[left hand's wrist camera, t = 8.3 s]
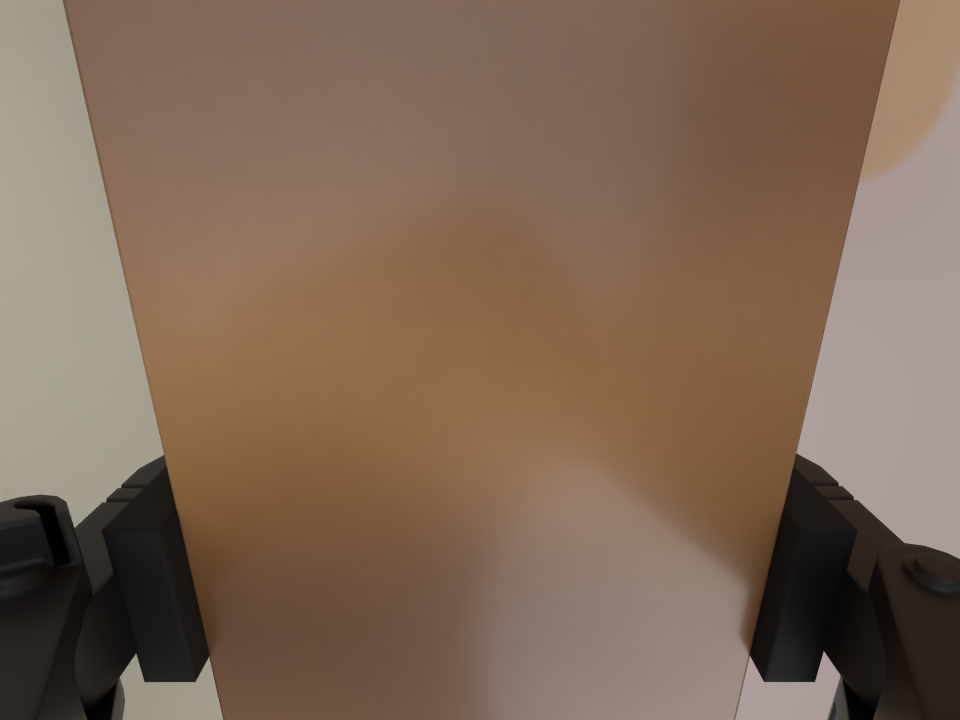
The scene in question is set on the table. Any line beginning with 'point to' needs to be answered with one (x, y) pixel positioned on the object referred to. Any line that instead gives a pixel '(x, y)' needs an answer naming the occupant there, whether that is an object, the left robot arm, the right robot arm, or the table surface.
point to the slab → (480, 331)
